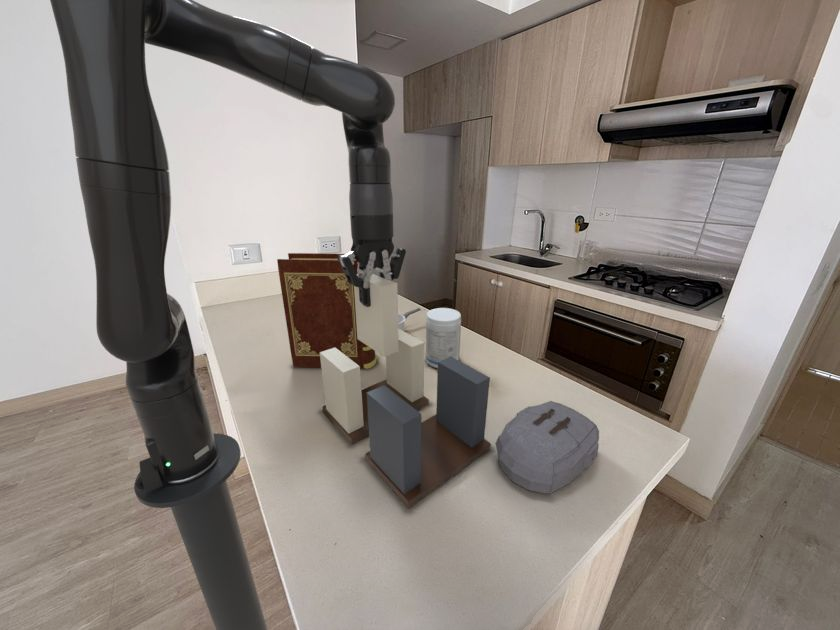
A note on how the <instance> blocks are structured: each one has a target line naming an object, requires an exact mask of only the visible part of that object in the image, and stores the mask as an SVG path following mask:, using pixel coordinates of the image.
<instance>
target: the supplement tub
mask: <svg viewBox="0 0 840 630" xmlns="http://www.w3.org/2000/svg"><path fill="white" fill-rule="evenodd" d="M461 330H462V315H461V312H460V311H458V310H457V309H453V308H449V307H437V308H433V309H430V310H428V311H427V312H426V316H425V362H426V364H427V365H429V366H430V367H432V368H435V369H438V362H439V361H441V360H444V359H446V358H448V357H453V358H455V359H456V360H458V361H460V351H461V334H462V333H461V332H462V331H461Z"/></svg>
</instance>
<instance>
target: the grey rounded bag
mask: <svg viewBox="0 0 840 630" xmlns="http://www.w3.org/2000/svg"><path fill="white" fill-rule="evenodd" d="M599 441H600V430H599V428H598V425H597V424H596V423H595V422H594V421H593V420H591V419H590V418H589V417H588V416H585V415H584V414H582V413H581V412H579V411H578V410H575V409H574V408H571V407H569V406H567V405H565V404H562V403H560V402H556V401H552V400H549V401H545V402H543V403H540V404H537V405H531V406H526V408H523V409H522V410H520V411H519V412H517V413H516V415H515V417H513V418H512V419H511V420H510V421H509V422H508V423H506V424H505V426H504V428H503V430H502V432H501V434H499V436H498V437H497V439H496V441H495V448H496V453H497V457H498V462H499V464H500V469H501V470H502V471H503V473H504V474H505V475H506V476H507V477H508V478H509V479H510V480H511V482H513V483H514V484H516V485H518V486H520V487H522V488H524V489H525V490H528V491H530V492H537V493H542V494H543V493H544V494H551V493H553V492H555V491H557V490H560V489H561V488H563V487H564V486H567V485H569V484H570V483H571V482H572V481H574V479H576V478H577V477H578V476H579V475H580V474H581V473H582V472H583V471H584V470H585V469H588V468H589V467H590V466H592V465H593V464H594V463H595V462H594V461H595V460H596V459H597V457H598V452H599V445H600V444H599Z"/></svg>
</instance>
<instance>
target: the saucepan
mask: <svg viewBox="0 0 840 630" xmlns="http://www.w3.org/2000/svg"><path fill="white" fill-rule="evenodd" d="M420 311H422V308H420V307H417V308H415V309H411V310H410V311H406V312H405V313H403V314H402V313H399V312H398V329H400V330H402V331H404V332H405V321H406V320H407V319H408V317H409V316H410V315H413V314H415V313H417V312H420Z"/></svg>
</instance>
